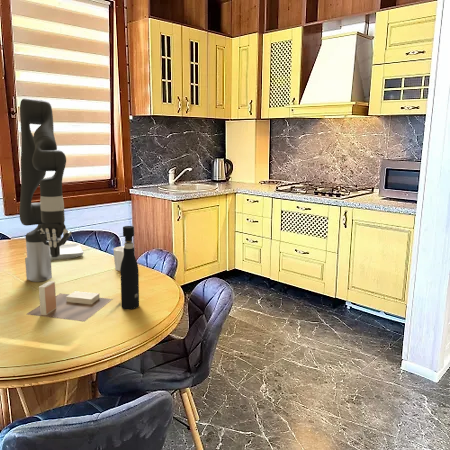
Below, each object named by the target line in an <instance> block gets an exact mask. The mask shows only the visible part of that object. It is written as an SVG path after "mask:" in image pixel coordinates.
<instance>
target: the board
mask: <svg viewBox="0 0 450 450" xmlns="http://www.w3.org/2000/svg"><path fill="white" fill-rule="evenodd" d="M70 294H71V293H70ZM70 294H69V293H58V294H57V295H56V309H55V310H53V311H52V312H50V313H49V314H47V315H41V311H40V305H39V306H37V307H35V308H33V309H32V310H30V311H29V312H27V313H26V315H30V316H37V317H44V318H51V319H53V318H54V319H60V320H61V319H63V320H69V321H77V322H86V321H87V320H88V319H90V318H91V317H92V316H94V315H95V314H97V312H99V311H100V310H101V309H102V308H104V307H106V305H107V304H108V303H110V302H111V301H113V299H112V298H107V297H106V298H105V297H99V298H100V299H98V300H97V301H95V302H94V303H93V304H82V303H73V302H66V296H68V295H70Z"/></svg>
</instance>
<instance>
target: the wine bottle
mask: <svg viewBox="0 0 450 450" xmlns="http://www.w3.org/2000/svg"><path fill="white" fill-rule="evenodd" d="M122 237H124V243H123V246H124V247H125V248H124V256H123V259H122V263H121V269H120V271H119V272H120V299H121V300H120V303H121V309H123V310H126V311H127V310H130V311H131V310H136V309H138V308H140V307H139V306H140V285H139V283H140V281H139V276H140V275H139V264H138V262H137V259H136V256H135V247H134V242H133V237H135V227H134V226H133V225H125V226H123V227H122Z"/></svg>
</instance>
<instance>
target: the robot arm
mask: <svg viewBox="0 0 450 450" xmlns="http://www.w3.org/2000/svg"><path fill="white" fill-rule="evenodd" d="M53 115H54V114H53V109H52V104H51V103H50V102H49V101H47V100H42V99H33V98H22V99H21V100H20V105H19V116H20V117H19V118H20V136H21V137H20V138H21V139H20V140H21V149H20V199H19V200H20V202H19V211H18V212H19V215H18V216H19V221H20V222H21V225H23V226H35V225H37V226H36V228H34V229H32V230H31V231H29V232H27V233H26V234H25V246H26V257H25V259H24V260H25V261H24V263H25V276H26V280H28V281H30V282H36V283H37V282H44V281H45V282H46V281H49V280H50V279H52V278H53V274H52V260H51V256H52V257H58V256H59V255H60V246H61V245H65V244H66V242H67V241H68V240H69V239H70V237H71V236H72V234H73V232H72V231H71V230H70V231H69V230H68V229H67V227H66V224H65V221H66V220H65V219H66V217H65V202H64V197H63V176H64V172H65V169H66V165H67V156H66V154H65V153H64V151H62V150H60V149H59V150H58V146H57V142H56V138H55V133H54V132H55V131H54V118H53V117H54V116H53ZM30 125H39V126H38V127H37V128H36V130H35V131H34V133H32V130H31V126H30ZM47 172H54V174H53V175H52V176H49V177H46V178H45V176H46V173H47ZM38 187H39V191H40V200H39V202H32V201H33V196H34V193H35V192H36V190H37V189H38ZM50 254H51V255H50Z"/></svg>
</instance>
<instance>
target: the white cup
mask: <svg viewBox="0 0 450 450" xmlns="http://www.w3.org/2000/svg"><path fill="white" fill-rule="evenodd" d="M124 246H125V245H123V246H117V247H114V248H113V259H114V267H115V268H114V269H115V271H117V272H120V269H121V263H122V259H123V256H124V248H125V247H124Z"/></svg>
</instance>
